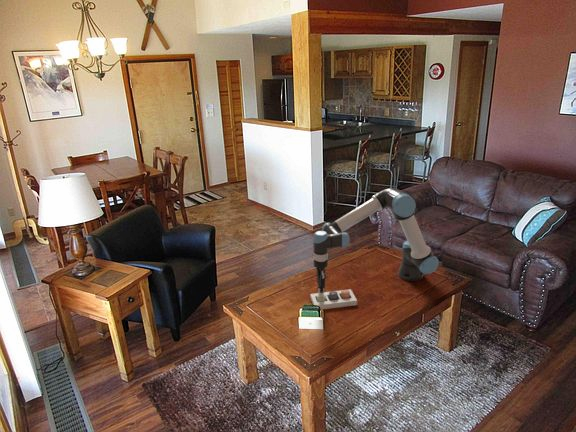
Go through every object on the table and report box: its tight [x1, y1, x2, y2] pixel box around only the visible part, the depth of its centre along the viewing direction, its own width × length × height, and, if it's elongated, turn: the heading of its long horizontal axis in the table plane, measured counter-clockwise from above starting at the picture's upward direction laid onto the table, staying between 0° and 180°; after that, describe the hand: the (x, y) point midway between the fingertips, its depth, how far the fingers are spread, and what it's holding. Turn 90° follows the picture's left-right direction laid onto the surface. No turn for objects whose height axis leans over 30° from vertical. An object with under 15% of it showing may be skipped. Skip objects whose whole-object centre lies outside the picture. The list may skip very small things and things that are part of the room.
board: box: [310, 288, 358, 310], centre depth 227 cm, size 24×12×3 cm, turn 99°
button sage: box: [317, 296, 326, 302], centre depth 226 cm, size 5×5×3 cm
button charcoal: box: [328, 290, 338, 301], centre depth 227 cm, size 5×5×3 cm
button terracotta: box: [341, 289, 350, 299], centre depth 227 cm, size 5×5×3 cm
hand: (321, 296), depth 226 cm, fingers closed
